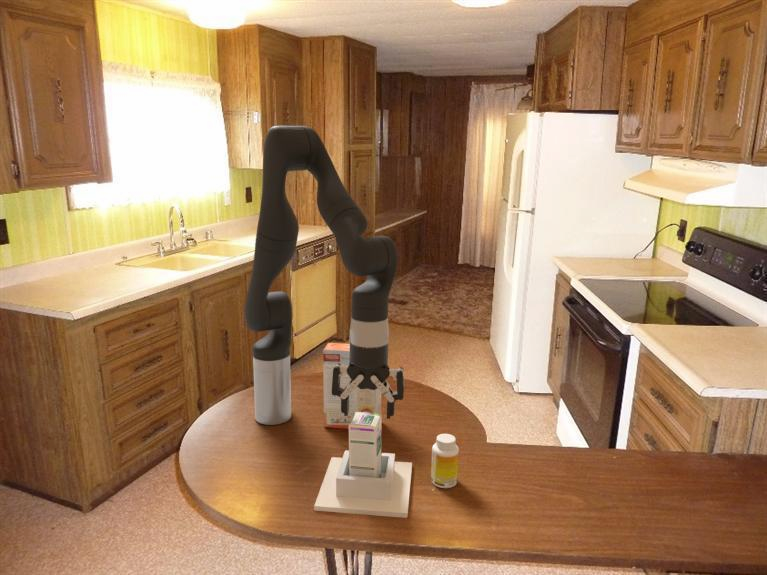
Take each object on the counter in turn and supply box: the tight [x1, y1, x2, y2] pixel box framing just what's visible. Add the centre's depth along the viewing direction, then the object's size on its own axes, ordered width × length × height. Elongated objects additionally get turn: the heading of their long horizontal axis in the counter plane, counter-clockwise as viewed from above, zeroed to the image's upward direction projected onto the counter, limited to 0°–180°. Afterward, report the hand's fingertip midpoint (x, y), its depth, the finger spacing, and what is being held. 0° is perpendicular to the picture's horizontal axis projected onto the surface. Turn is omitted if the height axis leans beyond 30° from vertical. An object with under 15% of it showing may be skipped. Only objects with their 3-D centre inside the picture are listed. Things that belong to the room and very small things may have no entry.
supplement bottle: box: [430, 433, 460, 489], centre depth 118 cm, size 6×6×10 cm
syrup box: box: [348, 412, 383, 478], centre depth 115 cm, size 6×6×14 cm
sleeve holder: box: [313, 449, 413, 519], centre depth 116 cm, size 18×18×5 cm
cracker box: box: [322, 342, 382, 430], centre depth 141 cm, size 14×6×21 cm, turn 83°
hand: (367, 415), depth 113 cm, fingers open, 8 cm apart
